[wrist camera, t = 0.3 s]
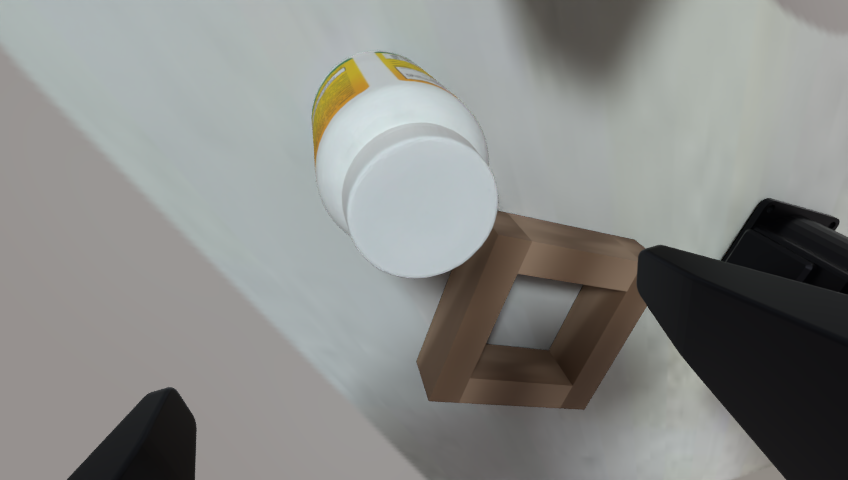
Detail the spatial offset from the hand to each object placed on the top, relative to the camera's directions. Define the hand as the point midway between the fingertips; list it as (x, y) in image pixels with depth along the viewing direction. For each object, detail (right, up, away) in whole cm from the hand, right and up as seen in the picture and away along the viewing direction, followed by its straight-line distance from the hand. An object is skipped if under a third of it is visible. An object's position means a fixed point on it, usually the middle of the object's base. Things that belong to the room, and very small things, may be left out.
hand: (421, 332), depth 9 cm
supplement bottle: (-2, +7, +11) cm, 14 cm away
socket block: (+6, -2, +18) cm, 19 cm away
